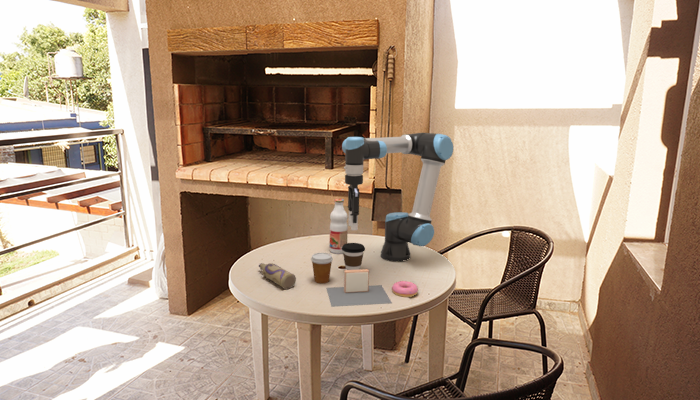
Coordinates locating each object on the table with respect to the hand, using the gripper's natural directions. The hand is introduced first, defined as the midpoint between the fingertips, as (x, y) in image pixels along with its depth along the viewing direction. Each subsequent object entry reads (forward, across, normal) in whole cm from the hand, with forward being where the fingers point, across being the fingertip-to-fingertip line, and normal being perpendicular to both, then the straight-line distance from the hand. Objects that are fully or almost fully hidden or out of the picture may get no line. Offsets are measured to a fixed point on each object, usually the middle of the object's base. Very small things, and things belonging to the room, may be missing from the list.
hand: (352, 227), depth 192 cm
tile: (+24, +11, 0) cm, 27 cm away
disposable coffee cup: (+25, -2, -13) cm, 28 cm away
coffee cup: (+25, -14, +3) cm, 29 cm away
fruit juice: (+25, -42, 0) cm, 49 cm away
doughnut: (+25, +14, +20) cm, 35 cm away
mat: (+25, +15, 0) cm, 29 cm away
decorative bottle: (+25, -7, -32) cm, 42 cm away
